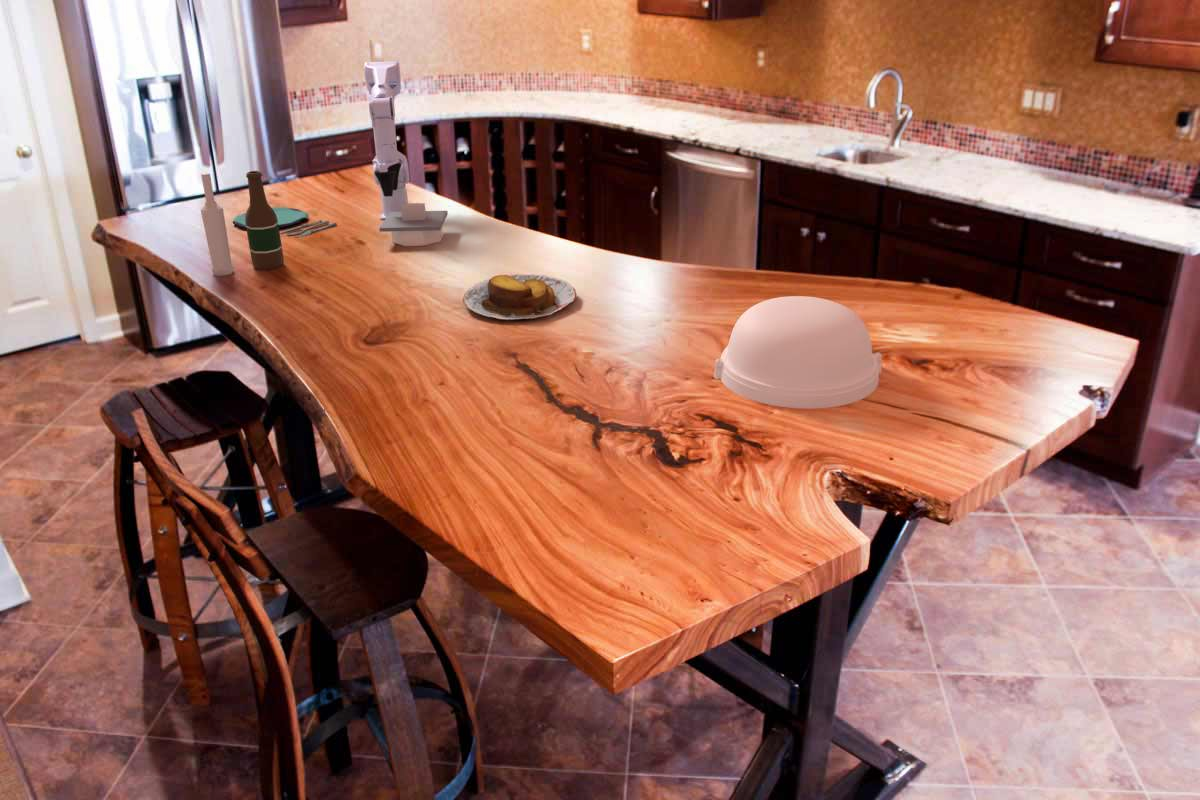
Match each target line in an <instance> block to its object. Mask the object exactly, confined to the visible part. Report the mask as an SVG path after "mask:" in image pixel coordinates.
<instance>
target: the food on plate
mask: <svg viewBox="0 0 1200 800" xmlns="http://www.w3.org/2000/svg"><path fill="white" fill-rule="evenodd" d="M576 299H577V291H576V288H574V287H573V286H572V285H571V283H569V282H567V281H566V280H563V279H561V278H557V277H553V276H548V275H544V274H543V275H542V274H541V275H540V274H533V273H531V274H525V273H523V274H521V273H520V274H519V273H517V274H516V273H515V274H498V275H494V276H492V277H491V278H489V279H486V280H483V281H480V282H479V283H476V284H475V285H473V286H472V287H470V288H468V289H467V291H466V292H464V296H463V297H462V302H463V303H462V304H464V306H465V307H466V308H467V309H468V311H469V310H470V311H473V313H475V314H477V315H482V316H485V317H488V318H494V319H495V318H496V319H498V320H506V321H508V320H522V319H523V320H524V319H526V320H528V319H537V318H542V317H546V316H552V315H553V313H555V312H556V313H557V311H560V310H562V309H563V308H565V307H566V306H568V305H569V304H570V303H573V302H575V300H576ZM568 313H569V312H566V314H568ZM495 314H499V315H495ZM500 315H502V316H500Z"/></svg>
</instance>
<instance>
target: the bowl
mask: <svg viewBox="0 0 1200 800" xmlns="http://www.w3.org/2000/svg"><path fill="white" fill-rule="evenodd" d="M443 230H444V229H443V227H442V228H441V230H431V231H390V232H391V239H392V243H394V244H398V245H401V246H403V247H416V246H417V247H418V246H419V247H420V246H423V247H424V246H428V245H431V244H435V243H439V242H441V241H442V239H443V236H444V231H443Z"/></svg>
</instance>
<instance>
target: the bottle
mask: <svg viewBox="0 0 1200 800" xmlns="http://www.w3.org/2000/svg"><path fill="white" fill-rule="evenodd" d="M200 175H201V181H202V187H203V191H204V198H205V201H204V205H203V206H202V207H201V208H200V215H201V220H202V223H203V227H204V232H205V238H206V243H207V246H208V253H209V257H210V262H211V265H212V266H211V271H212V274H213V275H214V276H217V277H222V276H228V275H231V274H233V273H234V264H233V263H232V259H231V251H230V246H229V240H228V239H229V238H228V233H227V226H226V220H225V219H226V218H225V213H224V207H223V206H222V205H221V204H219V203H218V202H217V200H215V196H214V190H213V189H214V188H213V185H212V184H213V183H212V178H211V173H210V172H202V173H200Z"/></svg>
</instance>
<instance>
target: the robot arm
mask: <svg viewBox="0 0 1200 800" xmlns="http://www.w3.org/2000/svg"><path fill="white" fill-rule="evenodd" d="M363 66H364V69H363V70H364V77H365V79H364V80H365V83H366V87H367V91H368V94H369V95H370V100H368V110H369V111H368V112H369V117H370V121H371V126H372V128H373V138H374V148H375V156H374V158H373V160H372V164H373V166H372V169H373V179H374V183H375V185H376V186H379V189H380V197H381V205H382V206H381V207H382V213H381V215H380V218H379V219H380V220H385V219H386V217H387V215H388V214H389V212H402V211H401V205H402V204H406V203H409V200H408V191H407V190H408V189H407V188H406V185H407V184H409V183H410V172H409V171H410V170H409V164H408V159H407V156H406V155H405V154H403V153H402V152H400V151H398V147H397V134H396V123H395V122H396V121H395V119H396V118H395V117H396V109H395V99H396V96H398V95H399V94H401V90H402V84H401V70H400V69H401V68H400V63H399V62H398V61H397V60H394V61H378V62H377V61H375V62H374V61H373V62H372V61H371V62H368V61H365V63H364V65H363Z"/></svg>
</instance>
